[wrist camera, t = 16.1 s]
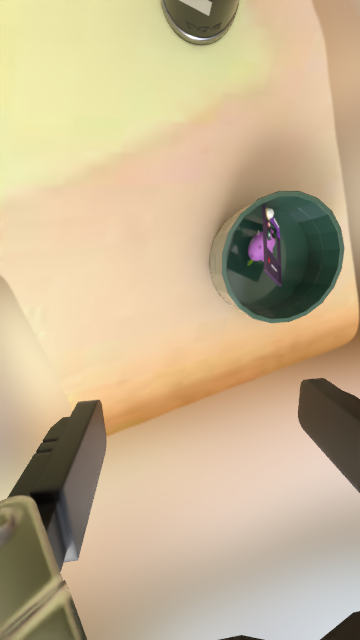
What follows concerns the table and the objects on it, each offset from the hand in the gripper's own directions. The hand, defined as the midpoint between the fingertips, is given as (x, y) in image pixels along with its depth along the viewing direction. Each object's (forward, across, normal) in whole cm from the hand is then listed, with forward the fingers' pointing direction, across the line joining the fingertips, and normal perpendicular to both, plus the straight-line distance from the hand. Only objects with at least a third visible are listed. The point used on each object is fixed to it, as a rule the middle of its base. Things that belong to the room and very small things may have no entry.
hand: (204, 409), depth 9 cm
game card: (+27, -15, -5) cm, 31 cm away
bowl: (+28, -15, -5) cm, 32 cm away
